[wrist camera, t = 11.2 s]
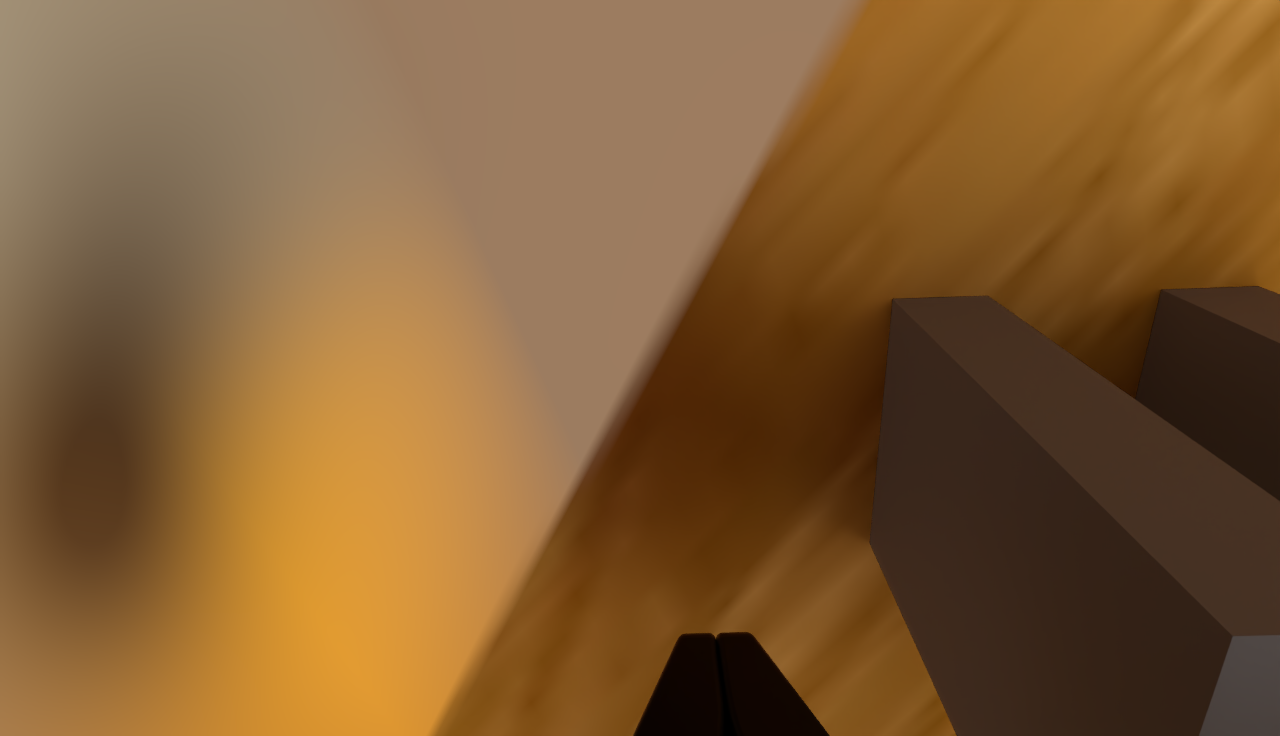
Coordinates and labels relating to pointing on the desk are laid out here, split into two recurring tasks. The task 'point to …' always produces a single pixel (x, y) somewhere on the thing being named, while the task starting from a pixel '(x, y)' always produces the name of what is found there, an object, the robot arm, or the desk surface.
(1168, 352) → the domino
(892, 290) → the desk surface
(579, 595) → the desk surface
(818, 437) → the desk surface
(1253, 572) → the domino
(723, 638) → the robot arm
